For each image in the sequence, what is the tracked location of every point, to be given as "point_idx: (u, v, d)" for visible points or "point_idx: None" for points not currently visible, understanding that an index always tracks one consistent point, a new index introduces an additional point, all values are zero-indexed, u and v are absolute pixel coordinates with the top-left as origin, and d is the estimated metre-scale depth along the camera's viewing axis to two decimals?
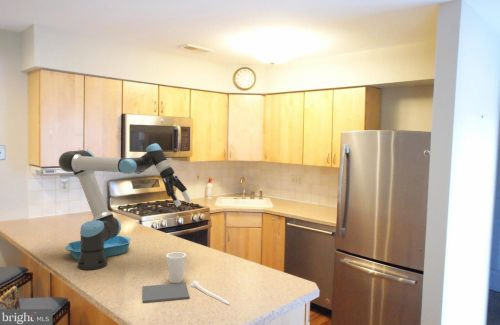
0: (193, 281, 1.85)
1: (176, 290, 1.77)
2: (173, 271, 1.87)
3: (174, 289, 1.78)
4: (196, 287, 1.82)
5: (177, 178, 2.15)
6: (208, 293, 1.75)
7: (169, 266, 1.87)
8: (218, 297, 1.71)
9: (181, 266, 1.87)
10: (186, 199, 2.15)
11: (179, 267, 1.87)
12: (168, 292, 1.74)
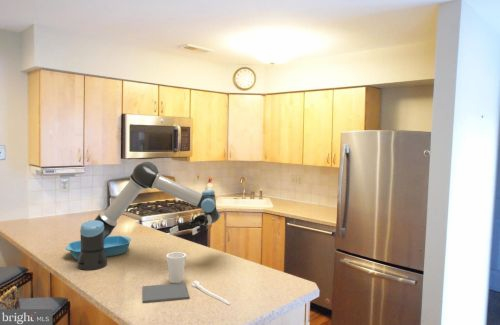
0: (194, 281, 1.85)
1: (176, 290, 1.77)
2: (173, 271, 1.87)
3: (174, 289, 1.78)
4: (197, 287, 1.82)
5: None
6: (209, 293, 1.75)
7: (169, 266, 1.87)
8: (219, 297, 1.71)
9: (181, 266, 1.87)
10: (173, 229, 2.02)
11: (179, 267, 1.87)
12: (168, 292, 1.74)
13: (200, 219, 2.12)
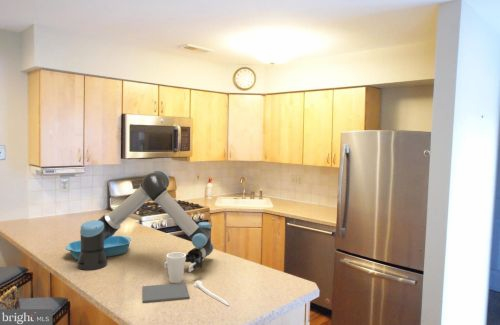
0: (196, 281, 1.85)
1: (176, 290, 1.77)
2: (173, 271, 1.87)
3: (174, 289, 1.78)
4: (199, 287, 1.82)
5: None
6: (209, 293, 1.75)
7: (169, 266, 1.87)
8: (218, 298, 1.70)
9: (181, 266, 1.87)
10: None
11: (179, 267, 1.87)
12: (168, 292, 1.74)
13: (195, 253, 2.06)
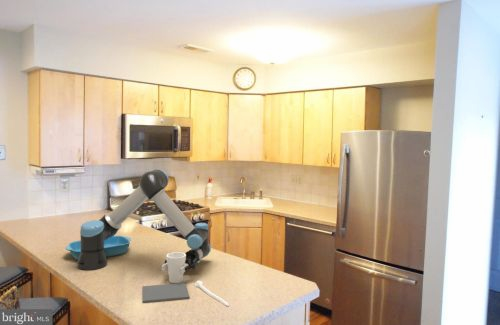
0: (197, 281, 1.85)
1: (176, 290, 1.77)
2: (173, 271, 1.87)
3: (174, 289, 1.78)
4: (199, 287, 1.82)
5: None
6: (209, 294, 1.74)
7: (169, 266, 1.87)
8: (218, 298, 1.70)
9: (181, 266, 1.87)
10: (165, 266, 1.89)
11: (179, 267, 1.87)
12: (168, 292, 1.74)
13: (191, 254, 2.03)
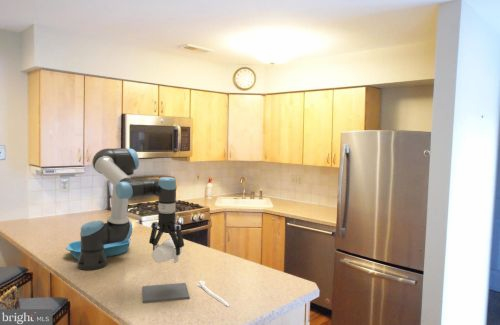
0: (199, 281, 1.85)
1: (176, 290, 1.77)
2: None
3: (174, 289, 1.78)
4: None
5: (176, 229, 1.71)
6: (211, 294, 1.74)
7: None
8: (219, 298, 1.69)
9: None
10: None
11: None
12: (168, 292, 1.74)
13: None
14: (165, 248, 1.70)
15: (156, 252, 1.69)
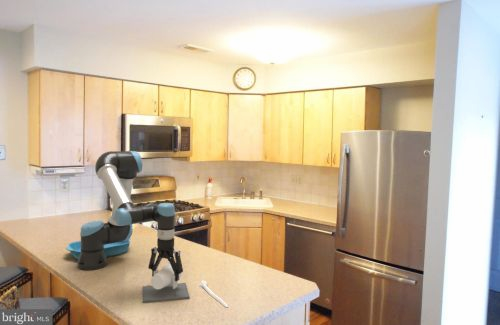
0: (201, 281, 1.85)
1: (176, 290, 1.77)
2: None
3: (174, 289, 1.78)
4: (203, 287, 1.82)
5: (175, 256, 1.71)
6: (211, 294, 1.74)
7: (169, 284, 1.76)
8: (219, 299, 1.69)
9: None
10: None
11: None
12: (168, 292, 1.74)
13: None
14: (163, 274, 1.70)
15: (155, 278, 1.69)
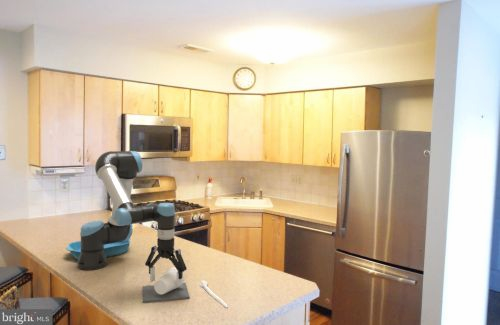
0: (202, 281, 1.85)
1: (176, 290, 1.77)
2: None
3: (174, 289, 1.78)
4: None
5: (176, 254, 1.71)
6: (211, 294, 1.74)
7: None
8: (219, 299, 1.69)
9: None
10: None
11: None
12: (168, 292, 1.74)
13: None
14: (169, 281, 1.70)
15: (159, 283, 1.69)
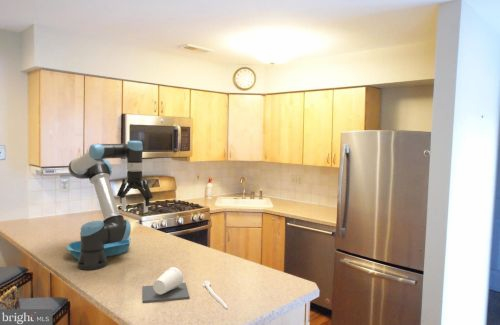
0: (205, 281, 1.85)
1: (176, 290, 1.77)
2: None
3: (174, 289, 1.78)
4: (206, 287, 1.82)
5: (143, 184, 1.97)
6: (213, 294, 1.74)
7: None
8: (219, 300, 1.68)
9: None
10: None
11: None
12: (168, 292, 1.74)
13: None
14: (167, 281, 1.70)
15: (158, 283, 1.69)
